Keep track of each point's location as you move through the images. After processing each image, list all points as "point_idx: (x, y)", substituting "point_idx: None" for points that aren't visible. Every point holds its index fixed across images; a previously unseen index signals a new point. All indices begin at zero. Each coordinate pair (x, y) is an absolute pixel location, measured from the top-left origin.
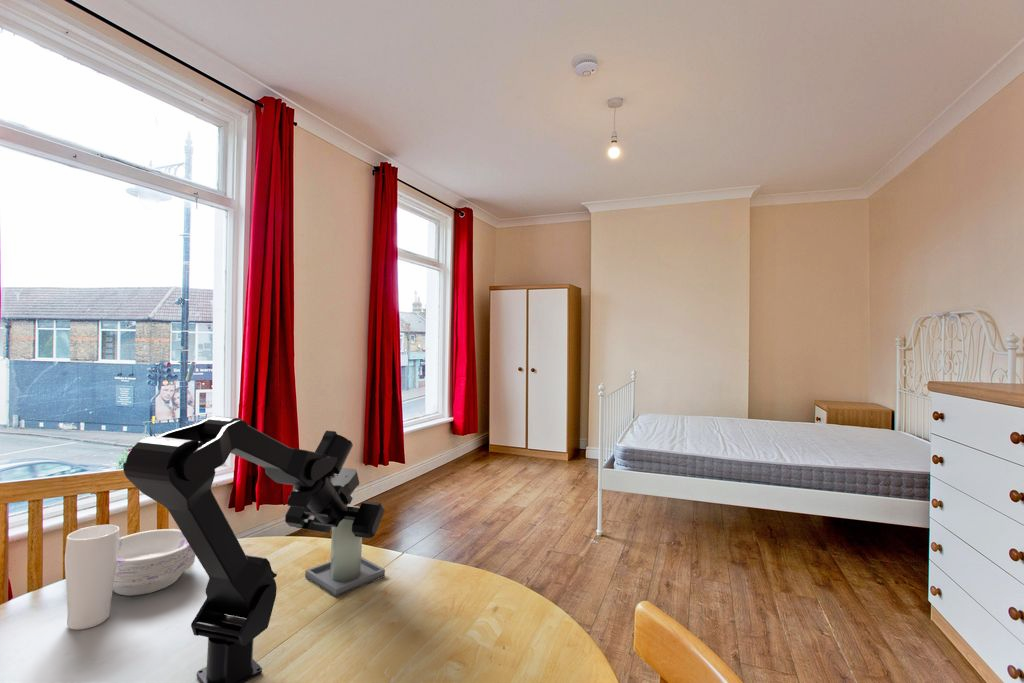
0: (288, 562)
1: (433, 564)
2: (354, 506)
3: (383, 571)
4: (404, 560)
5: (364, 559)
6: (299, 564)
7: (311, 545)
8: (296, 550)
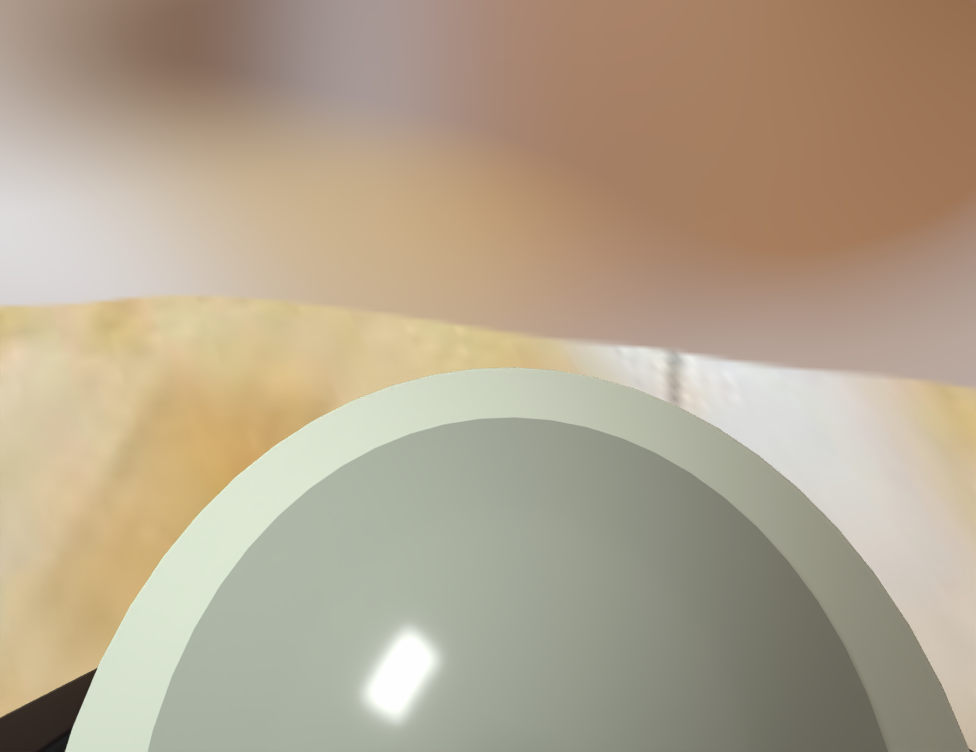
0: (10, 615)
1: (923, 419)
2: (500, 384)
3: None
4: (735, 413)
5: None
6: (97, 624)
7: (115, 370)
8: (34, 445)
